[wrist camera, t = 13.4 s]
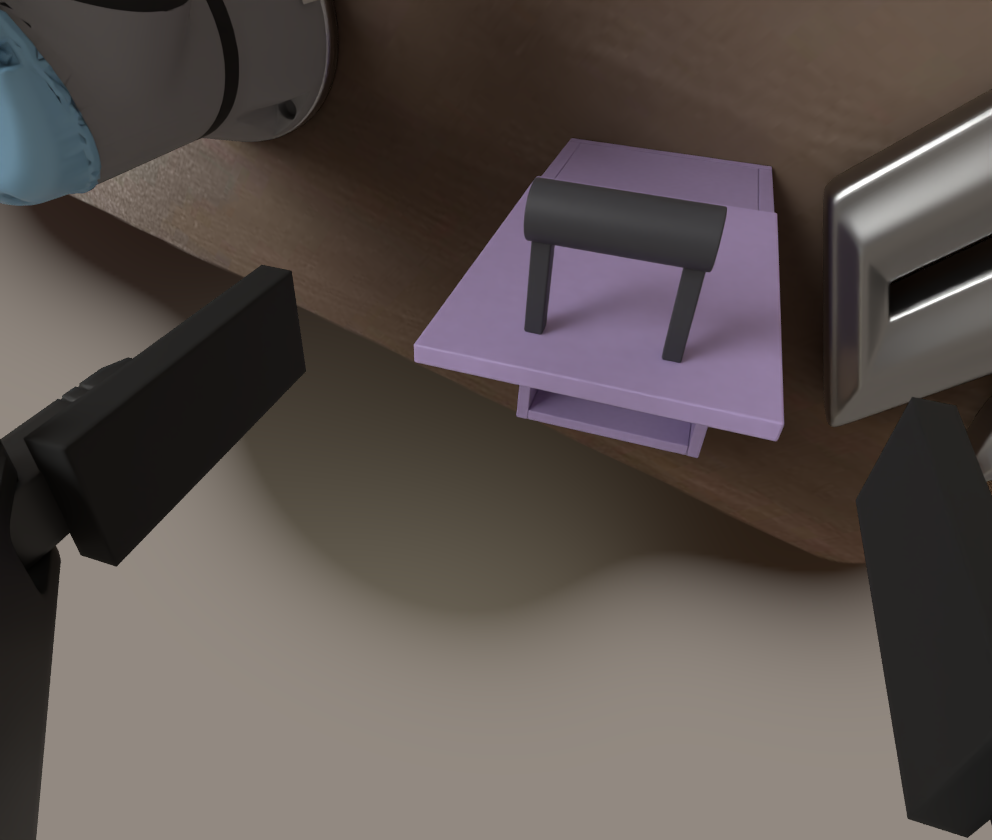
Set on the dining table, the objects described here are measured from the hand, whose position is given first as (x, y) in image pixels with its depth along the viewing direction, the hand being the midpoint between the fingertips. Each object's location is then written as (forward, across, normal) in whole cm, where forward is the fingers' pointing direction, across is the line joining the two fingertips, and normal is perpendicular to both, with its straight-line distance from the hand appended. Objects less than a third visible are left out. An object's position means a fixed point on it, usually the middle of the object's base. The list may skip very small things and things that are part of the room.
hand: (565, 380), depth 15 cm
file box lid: (+15, 0, -5) cm, 16 cm away
